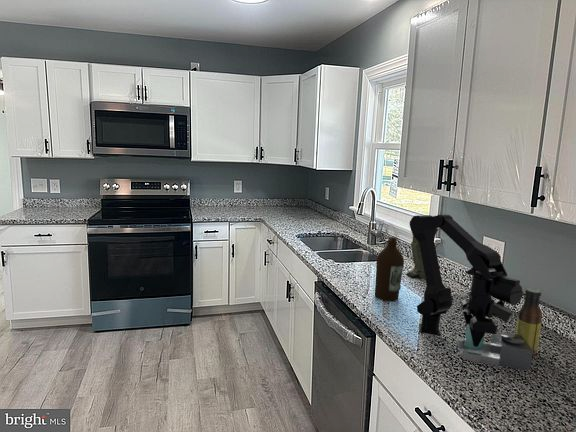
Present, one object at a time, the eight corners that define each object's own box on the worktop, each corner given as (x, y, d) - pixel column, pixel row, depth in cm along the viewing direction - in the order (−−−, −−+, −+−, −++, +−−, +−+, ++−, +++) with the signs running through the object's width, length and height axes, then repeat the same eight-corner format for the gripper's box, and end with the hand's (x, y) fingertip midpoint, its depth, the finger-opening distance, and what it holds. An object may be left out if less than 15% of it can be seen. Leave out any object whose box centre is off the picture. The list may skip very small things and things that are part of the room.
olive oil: (367, 294, 164) (373, 235, 160) (385, 291, 170) (391, 233, 166) (387, 303, 156) (393, 241, 151) (405, 299, 161) (412, 239, 157)
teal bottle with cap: (462, 341, 122) (465, 319, 121) (480, 343, 121) (483, 322, 120) (466, 348, 118) (469, 326, 116) (484, 351, 116) (487, 329, 115)
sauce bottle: (528, 346, 126) (538, 286, 123) (541, 356, 120) (552, 294, 117) (508, 346, 126) (518, 286, 123) (520, 356, 120) (531, 293, 116)
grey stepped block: (456, 343, 125) (459, 322, 124) (518, 353, 121) (521, 331, 120) (462, 359, 116) (466, 336, 115) (529, 370, 112) (533, 347, 111)
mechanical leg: (406, 277, 189) (426, 216, 186) (398, 272, 195) (417, 214, 193) (429, 283, 193) (450, 224, 190) (421, 278, 200) (440, 221, 197)
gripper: (522, 308, 106) (512, 362, 108) (502, 286, 124) (494, 333, 126) (476, 302, 108) (469, 355, 111) (463, 281, 126) (457, 327, 129)
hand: (473, 342), depth 119 cm, fingers closed on teal bottle with cap, 5 cm apart
